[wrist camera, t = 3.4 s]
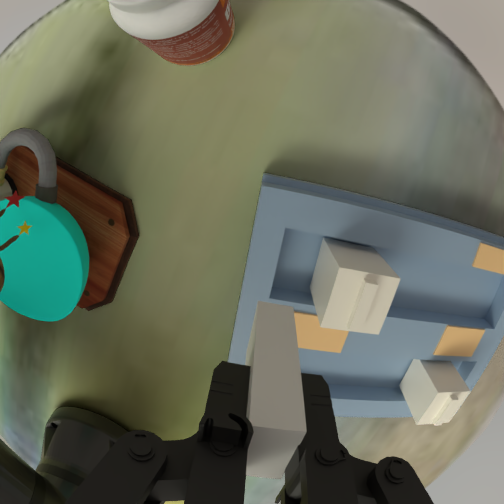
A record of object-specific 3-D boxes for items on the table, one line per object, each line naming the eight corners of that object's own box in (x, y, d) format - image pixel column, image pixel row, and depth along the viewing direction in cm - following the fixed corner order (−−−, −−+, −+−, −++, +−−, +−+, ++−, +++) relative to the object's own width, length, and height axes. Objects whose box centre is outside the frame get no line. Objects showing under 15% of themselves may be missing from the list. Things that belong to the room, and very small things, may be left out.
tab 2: (399, 385, 28) (418, 429, 22) (415, 353, 26) (440, 397, 20) (429, 385, 28) (451, 426, 22) (447, 355, 26) (473, 395, 21)
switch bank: (223, 383, 30) (219, 407, 26) (263, 172, 23) (263, 178, 20) (443, 399, 30) (453, 418, 27) (518, 242, 24) (539, 254, 20)
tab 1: (309, 287, 24) (321, 332, 18) (323, 237, 23) (341, 271, 17) (357, 295, 24) (381, 340, 19) (373, 247, 23) (404, 282, 17)
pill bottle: (252, 37, 19) (242, -35, 9) (181, 83, 21) (117, 46, 10) (207, -16, 18) (171, -98, 7) (140, 28, 19) (65, -26, 9)
